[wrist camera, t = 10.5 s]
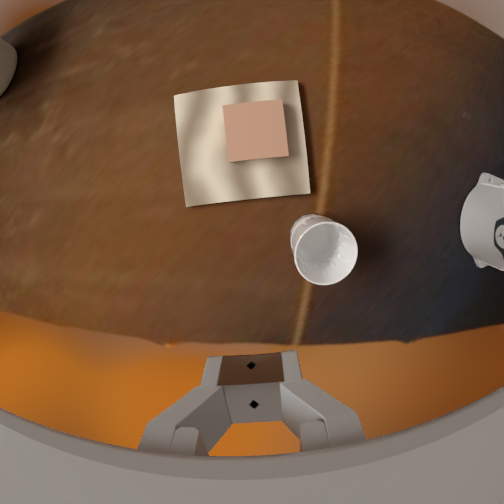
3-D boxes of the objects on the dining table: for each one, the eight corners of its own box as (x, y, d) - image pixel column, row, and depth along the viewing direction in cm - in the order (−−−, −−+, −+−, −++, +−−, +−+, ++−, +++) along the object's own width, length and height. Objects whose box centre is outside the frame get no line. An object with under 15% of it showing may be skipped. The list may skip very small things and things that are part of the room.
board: (296, 82, 36) (297, 80, 35) (308, 192, 41) (310, 193, 40) (175, 97, 37) (173, 95, 36) (188, 205, 42) (186, 206, 41)
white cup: (317, 199, 41) (335, 208, 32) (345, 240, 43) (369, 259, 33) (275, 231, 43) (281, 249, 33) (305, 270, 44) (318, 297, 35)
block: (224, 108, 37) (280, 103, 36) (230, 162, 39) (287, 156, 38) (222, 105, 34) (282, 99, 34) (228, 162, 37) (288, 156, 36)
